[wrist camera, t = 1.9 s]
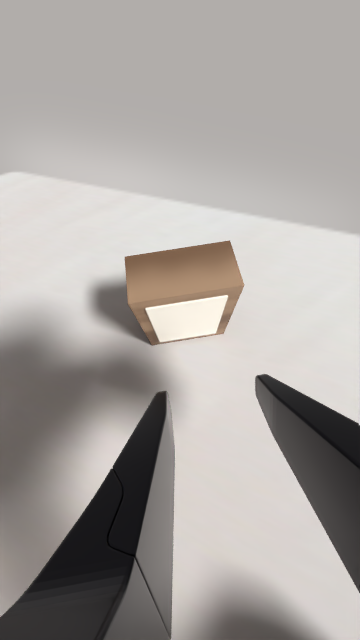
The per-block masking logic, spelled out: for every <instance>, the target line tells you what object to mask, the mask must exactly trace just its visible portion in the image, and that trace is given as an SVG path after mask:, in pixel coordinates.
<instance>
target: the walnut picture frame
mask: <svg viewBox="0 0 360 640" xmlns="http://www.w3.org/2000/svg"><path fill="white" fill-rule="evenodd" d="M125 268H126V282H127V297H128V305H129V306H130V308H131V310H132V312H133V313H134V315H135V317H136V319H137V320H138V322H139V324H140V325H141V327H142V329H143V331H144V332H145V334H146V336H147V338H148V339H149V341H150V343H151V344H152V345H157V344H163V343H169V342H175V341H181V340H188V339H194V338H200V337H206V336H212V335H218V334H223V333H224V331H225V329H226V326H227V324H228V322H229V320H230V317H231V315H232V313H233V310H234V308H235V306H236V303H237V301H238V299H239V296H240V294H241V292H242V290H243V287H244V283H243V280H242V277H241V274H240V270H239V267H238V264H237V261H236V258H235V255H234V252H233V249H232V246H231V242H230V241H224V242H218V243H211V244H205V245H198V246H192V247H185V248H179V249H172V250H166V251H159V252H153V253H146V254H140V255H133V256H127V257H125Z"/></svg>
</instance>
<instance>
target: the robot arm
mask: <svg viewBox="0 0 360 640" xmlns="http://www.w3.org/2000/svg"><path fill="white" fill-rule="evenodd" d="M255 391H256V397H257V399H258V402H259V404H260V406H261V409H262V411H263V414H264V416H265V418H266V421H267V423H268V425H269V428H270V430H271V432H272V434H273V436H274V438H275V440H276V442H277V444H278V446H279V447H280V449H281V451H282V453H283V455H284V457H285V458H286V460H287V462H288V464H289V466H290V467H291V469H292V471H293V473H294V475H295V476H296V478H297V480H298V482H299V484H300V486H301V487H302V489H303V491H304V493H305V495H306V496H307V498H308V500H309V502H310V504H311V506H312V507H313V509H314V511H315V513H316V515H317V516H318V518H319V520H320V522H321V524H322V526H323V527H324V529H325V531H326V533H327V535H328V536H329V538H330V540H331V542H332V544H333V545H334V547H335V549H336V551H337V553H338V555H339V556H340V558H341V560H342V562H343V564H344V565H345V567H346V569H347V571H348V573H349V575H350V576H351V578H352V580H353V582H354V584H355V585H356V587H357V589H358V591H359V593H360V426H359V424H358V423H357V422H355V421H353V420H351V419H349V418H347V417H345V416H344V415H342V414H340V413H338V412H336V411H334V410H332V409H330V408H329V407H327V406H325V405H323V404H321V403H319V402H317V401H316V400H314V399H312V398H310V397H308V396H306V395H304V394H302V393H301V392H299V391H297V390H295V389H293V388H291V387H289V386H288V385H286V384H284V383H282V382H280V381H278V380H276V379H275V378H273V377H271V376H269V375H267V374H262V375H257V376H256V378H255ZM174 469H175V447H174V436H173V425H172V415H171V407H170V402H169V397H168V393H167V391H162V392H157V393H156V395H155V396H154V398H153V400H152V401H151V403H150V405H149V406H148V408H147V410H146V411H145V413H144V415H143V417H142V418H141V420H140V422H139V423H138V425H137V427H136V428H135V430H134V432H133V433H132V435H131V437H130V438H129V440H128V442H127V443H126V445H125V447H124V448H123V450H122V452H121V453H120V455H119V457H118V458H117V460H116V462H115V463H114V465H113V469H111V470H110V472H109V473H108V475H107V477H106V478H105V480H104V482H103V483H102V485H101V486H100V488H99V489H98V491H97V493H96V494H95V496H94V497H93V499H92V500H91V502H90V503H89V505H88V506H87V508H86V509H85V511H84V512H83V513H82V515H81V516H80V518H79V519H78V521H77V522H76V523H75V525H74V526H73V528H72V529H71V530H70V532H69V533H68V534H67V536H66V537H65V539H64V540H63V541H62V543H61V544H60V546H59V547H58V548H57V550H56V551H55V553H54V554H53V555H52V557H51V558H50V560H49V561H48V562H47V564H46V565H45V566H44V568H43V569H42V571H41V572H40V573H39V575H38V576H37V577H36V579H35V580H34V581H33V583H32V584H31V585H30V586H29V588H28V589H27V590H26V591H25V592H24V594H23V595H22V596H21V597H20V598H19V599H18V600H17V601H16V602H15V604H14V605H13V606H12V607H11V608H10V609H9V610H8V611H7V612H6V613H4V614H3V615H2V616H1V617H0V640H170V639H171V621H172V571H173V520H174Z"/></svg>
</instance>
